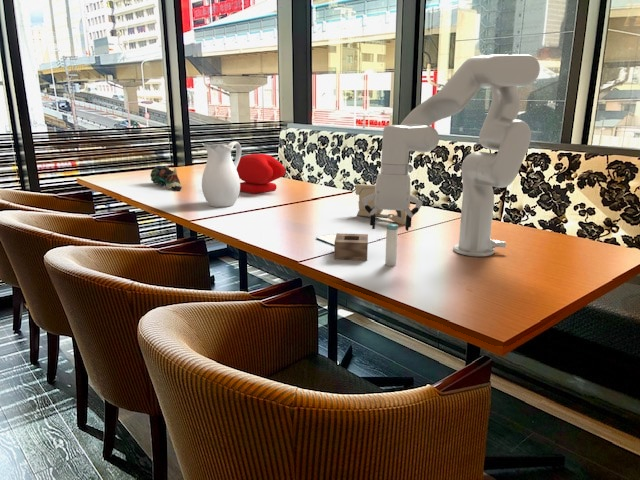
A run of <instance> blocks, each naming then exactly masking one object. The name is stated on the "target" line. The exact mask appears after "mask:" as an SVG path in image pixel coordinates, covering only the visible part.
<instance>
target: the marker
mask: <svg viewBox="0 0 640 480" xmlns="http://www.w3.org/2000/svg"><path fill="white" fill-rule="evenodd" d="M398 231H399V224H398V223H397V224H396V223H387V224H386V235H385V236H386V238H385V239H386V240H385V259H384V260H385V266H387V267H388V266H389V267H394V266H397V253H398V252H397V251H398V234H399V233H398Z"/></svg>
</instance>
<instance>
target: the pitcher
mask: <svg viewBox="0 0 640 480" xmlns="http://www.w3.org/2000/svg"><path fill="white" fill-rule="evenodd" d="M201 144H202V146H203V147H204V149H205V150H206V152H207V159H206V163H205V167H204V170H203V173H202V177H201V189H202V194H203V197H204V198H205V200H206V202H207V203H208V205H209V206H211V207H214V208H215V207H216V208H226V207H232V206H233V205H235V204H236V202H237V200H238V198H239V195H240V192H241V191H240V183H241V181H240V180H241V179H240V178H239V175H238V173H237V170H236V169H237V166H238V163H239V161H240V158H241V155H242V149H243V148H242V146H241V144H240V143H239V142H238V141H231V142H229V143H228V144H225V143H223V144H221V143H217V144H216V143H215V144H212V145H210V144H209V145H207V144H204V143H203V142H202V143H201ZM234 147H235V150H236V152H235V153H236V154H235V159H234V161H233V157H232V152H233V151H232V150H233V149H234Z"/></svg>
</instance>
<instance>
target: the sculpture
mask: <svg viewBox="0 0 640 480" xmlns="http://www.w3.org/2000/svg"><path fill="white" fill-rule="evenodd" d="M149 176H150V181H151V182H152V183H153V184H157V185H160V186H163V187H164V186H165V187H166V189H171V190H173V191H175V192H181V189H182V190H183V187H182V185H181V181H180V179H179V177H178V171H177V168H176V167H174V169H173V170H172V169H170V167H169V165H166V166H163V165H159V166H157V165H156V166H155V167H154V168H152V170H151V171H150V175H149Z"/></svg>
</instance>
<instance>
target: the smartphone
mask: <svg viewBox="0 0 640 480" xmlns="http://www.w3.org/2000/svg"><path fill="white" fill-rule="evenodd" d="M335 238H336V234H334V233H332V234H326V235H321V236H317V237H316V240H318V241H320V242H322V243H325V244H328V245H331V246H333V247H334V245H335Z"/></svg>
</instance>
